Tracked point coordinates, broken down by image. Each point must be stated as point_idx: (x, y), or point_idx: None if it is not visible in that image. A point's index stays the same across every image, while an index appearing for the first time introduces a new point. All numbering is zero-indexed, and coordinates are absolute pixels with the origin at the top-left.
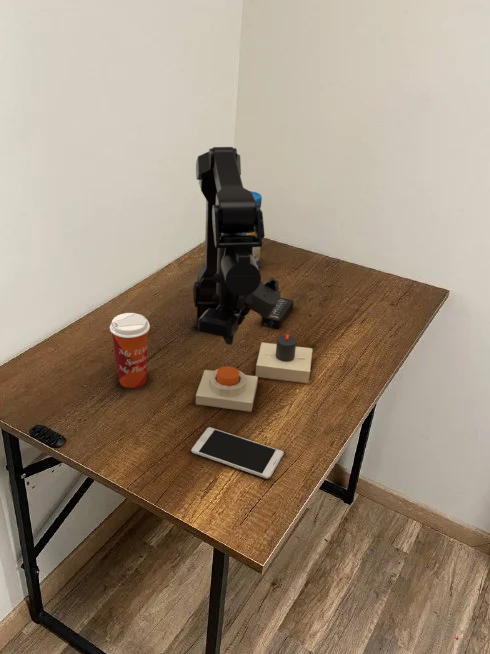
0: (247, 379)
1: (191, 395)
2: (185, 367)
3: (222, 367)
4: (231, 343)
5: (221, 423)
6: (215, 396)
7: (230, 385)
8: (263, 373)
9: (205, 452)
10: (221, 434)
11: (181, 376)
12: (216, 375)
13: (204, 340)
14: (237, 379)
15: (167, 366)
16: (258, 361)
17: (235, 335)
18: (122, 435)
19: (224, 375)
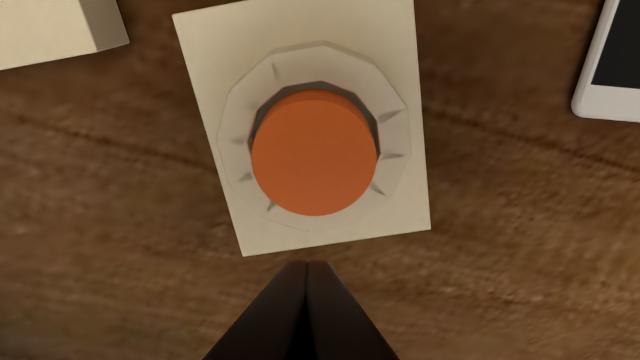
0: (222, 60)
1: None
2: (217, 310)
3: (282, 202)
4: (333, 272)
5: (512, 75)
6: (413, 155)
7: (363, 116)
8: (104, 3)
9: None
10: (619, 46)
11: None
12: None
13: (17, 312)
14: (330, 96)
15: None
16: (58, 50)
17: (261, 299)
18: (633, 339)
19: (348, 170)
